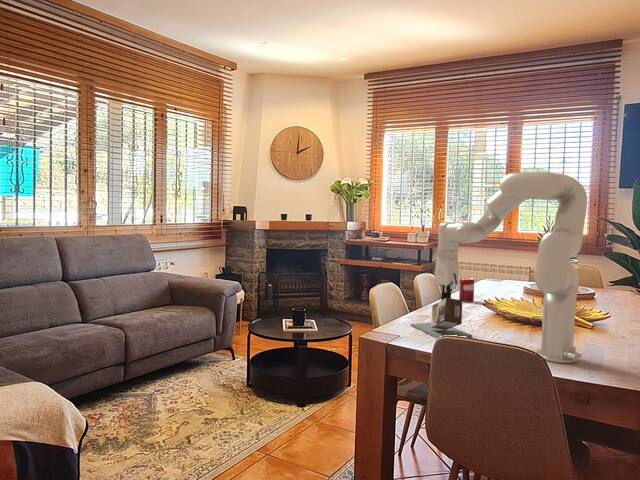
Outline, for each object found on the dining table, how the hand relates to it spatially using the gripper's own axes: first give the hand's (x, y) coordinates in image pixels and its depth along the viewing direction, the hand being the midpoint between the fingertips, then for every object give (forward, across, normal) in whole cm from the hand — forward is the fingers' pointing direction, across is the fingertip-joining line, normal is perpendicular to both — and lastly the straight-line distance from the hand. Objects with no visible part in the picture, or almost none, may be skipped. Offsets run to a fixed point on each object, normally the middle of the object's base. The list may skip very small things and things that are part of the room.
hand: (445, 302), depth 191 cm
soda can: (+13, -55, +47) cm, 73 cm away
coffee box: (+7, -4, 0) cm, 8 cm away
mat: (+12, -4, 0) cm, 13 cm away
